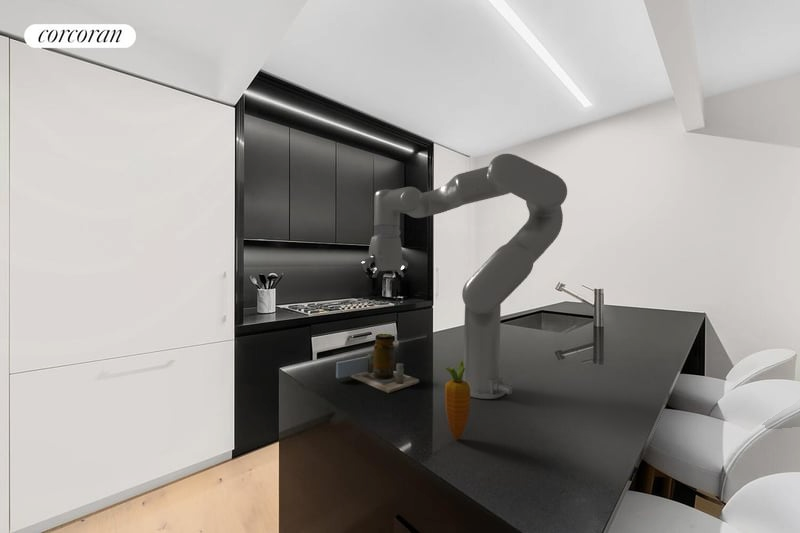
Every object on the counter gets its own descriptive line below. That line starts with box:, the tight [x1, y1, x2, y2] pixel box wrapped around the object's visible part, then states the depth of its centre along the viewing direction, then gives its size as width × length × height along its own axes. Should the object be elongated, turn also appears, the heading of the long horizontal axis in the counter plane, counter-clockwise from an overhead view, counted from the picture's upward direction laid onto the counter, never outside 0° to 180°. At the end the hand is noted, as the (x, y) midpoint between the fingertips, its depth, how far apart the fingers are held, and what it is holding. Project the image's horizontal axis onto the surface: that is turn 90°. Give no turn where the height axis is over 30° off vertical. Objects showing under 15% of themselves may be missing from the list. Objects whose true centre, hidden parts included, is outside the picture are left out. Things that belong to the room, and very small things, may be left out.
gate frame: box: [350, 353, 420, 394], centre depth 99 cm, size 17×12×6 cm
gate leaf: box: [335, 356, 368, 379], centre depth 99 cm, size 10×1×4 cm, turn 130°
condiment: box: [367, 333, 396, 382], centre depth 99 cm, size 7×8×12 cm
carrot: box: [444, 360, 471, 441], centre depth 65 cm, size 5×5×15 cm
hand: (385, 290), depth 99 cm, fingers open, 9 cm apart
